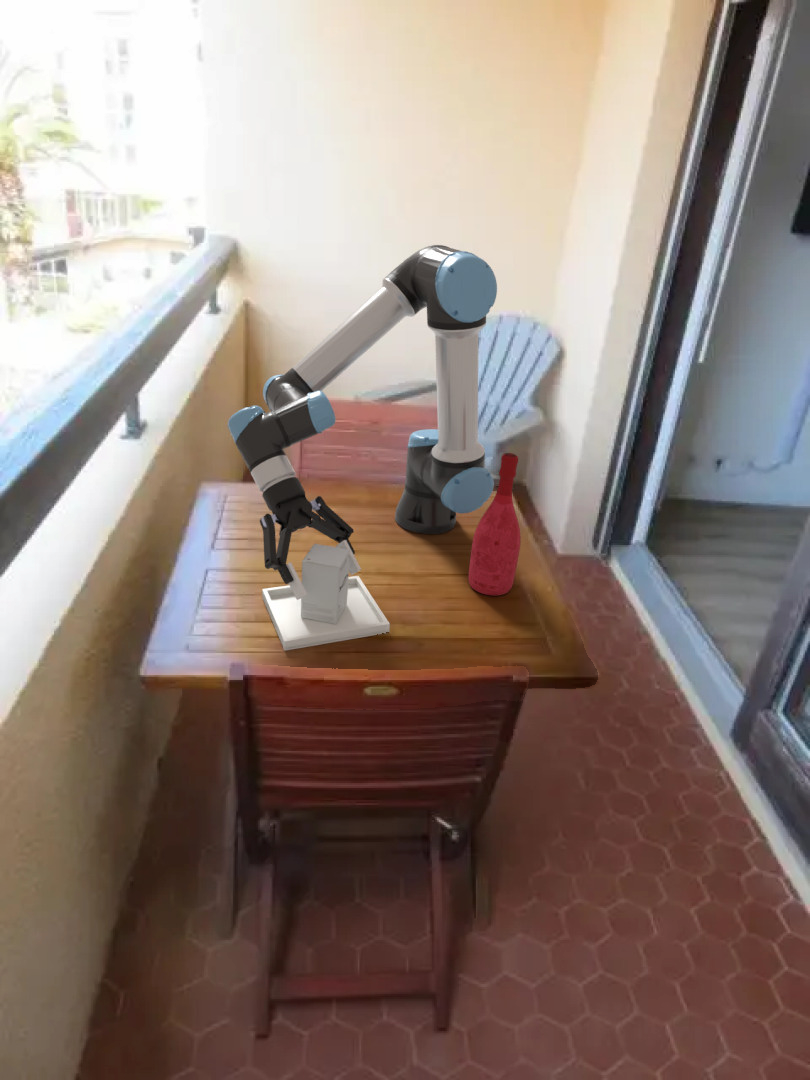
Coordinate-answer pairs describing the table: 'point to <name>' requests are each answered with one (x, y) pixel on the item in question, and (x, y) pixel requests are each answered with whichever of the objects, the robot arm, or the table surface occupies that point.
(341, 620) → the white tray
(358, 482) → the table surface
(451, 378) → the robot arm
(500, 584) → the wine bottle
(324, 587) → the supplement box
